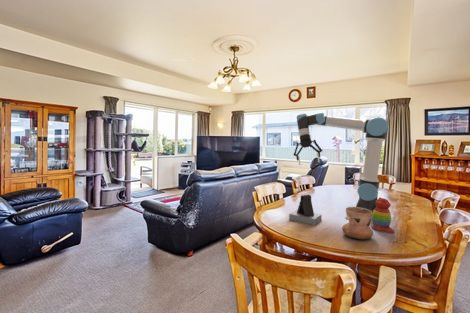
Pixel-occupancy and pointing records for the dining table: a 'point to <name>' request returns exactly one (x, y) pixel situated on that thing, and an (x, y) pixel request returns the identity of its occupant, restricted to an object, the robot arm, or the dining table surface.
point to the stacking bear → (382, 216)
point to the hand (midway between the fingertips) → (309, 163)
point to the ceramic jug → (358, 223)
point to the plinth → (305, 218)
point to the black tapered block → (305, 206)
